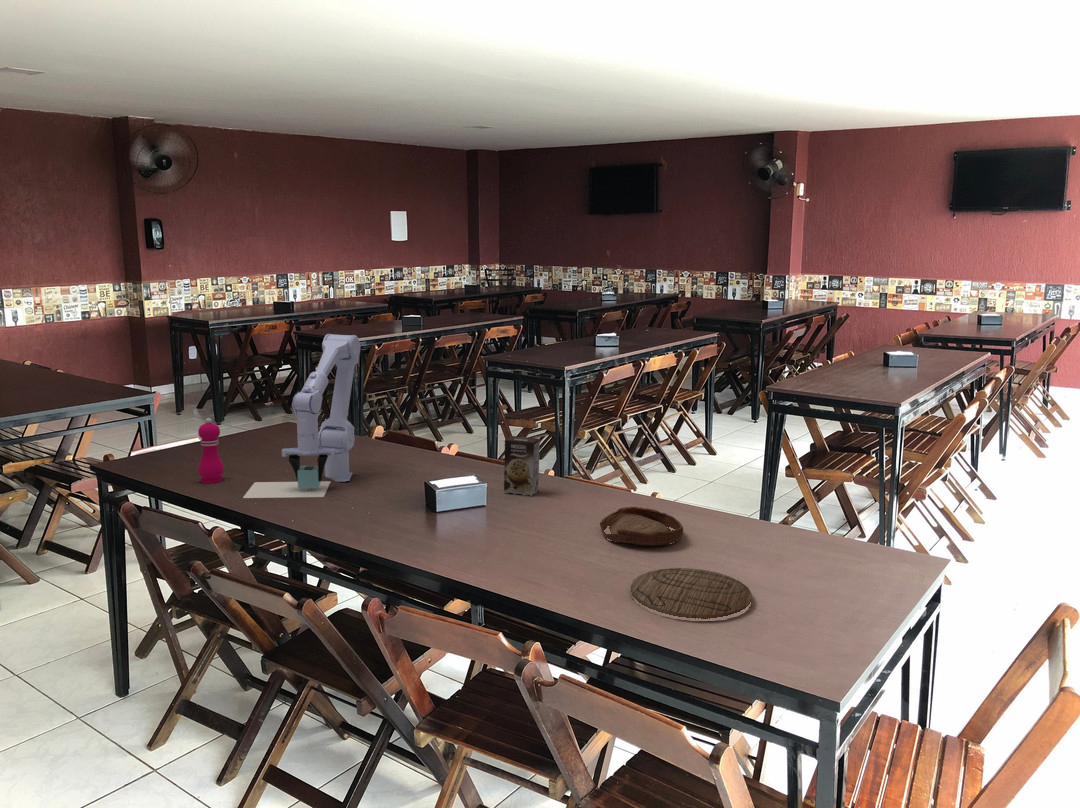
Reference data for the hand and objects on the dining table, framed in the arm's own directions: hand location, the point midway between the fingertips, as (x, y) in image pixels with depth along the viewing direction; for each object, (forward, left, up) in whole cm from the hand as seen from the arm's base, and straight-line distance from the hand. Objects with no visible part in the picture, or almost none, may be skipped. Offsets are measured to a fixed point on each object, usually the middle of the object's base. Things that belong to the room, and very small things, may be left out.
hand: (309, 480), depth 255 cm
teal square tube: (0, 0, -1) cm, 1 cm away
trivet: (+81, +90, -4) cm, 121 cm away
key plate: (0, -6, -4) cm, 7 cm away
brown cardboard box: (+2, +61, -4) cm, 61 cm away
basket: (+42, +88, -4) cm, 98 cm away
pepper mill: (-11, -30, -4) cm, 32 cm away
